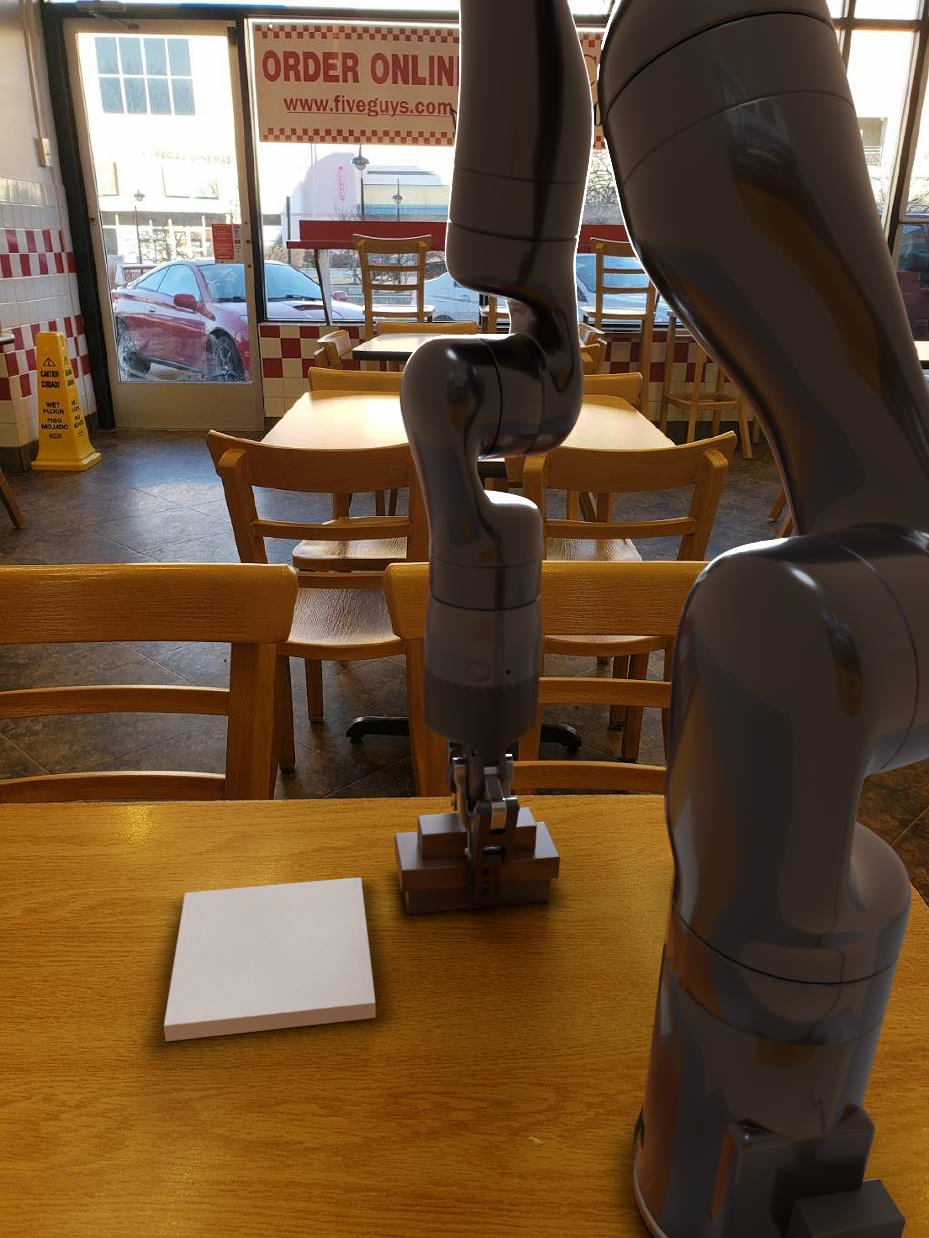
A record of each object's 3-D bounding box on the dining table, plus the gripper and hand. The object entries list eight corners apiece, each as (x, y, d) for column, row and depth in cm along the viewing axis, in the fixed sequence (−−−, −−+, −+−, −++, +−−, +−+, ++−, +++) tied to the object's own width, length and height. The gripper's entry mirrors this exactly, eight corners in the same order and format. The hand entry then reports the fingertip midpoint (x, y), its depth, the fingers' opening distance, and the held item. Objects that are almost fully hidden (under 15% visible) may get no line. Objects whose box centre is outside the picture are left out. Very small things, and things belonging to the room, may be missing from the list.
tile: (375, 1018, 56) (375, 1002, 55) (165, 1041, 54) (163, 1025, 53) (361, 890, 67) (360, 876, 66) (186, 906, 65) (184, 892, 64)
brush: (541, 864, 70) (546, 797, 68) (557, 902, 66) (562, 832, 64) (394, 877, 68) (394, 809, 66) (401, 917, 64) (401, 845, 62)
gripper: (568, 703, 55) (551, 940, 61) (514, 615, 68) (505, 817, 74) (441, 710, 53) (437, 952, 60) (411, 619, 66) (410, 825, 73)
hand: (474, 876), depth 67 cm, fingers closed on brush, 4 cm apart
